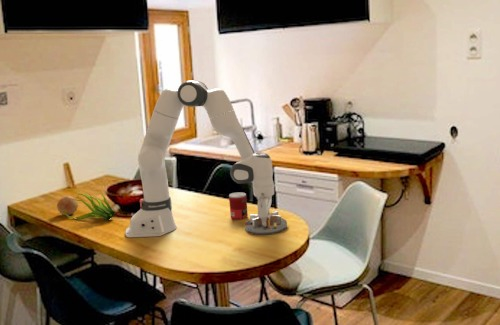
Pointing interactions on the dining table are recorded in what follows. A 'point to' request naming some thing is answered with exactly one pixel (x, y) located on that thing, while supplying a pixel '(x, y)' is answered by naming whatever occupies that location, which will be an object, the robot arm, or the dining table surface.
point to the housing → (266, 228)
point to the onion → (67, 205)
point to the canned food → (238, 205)
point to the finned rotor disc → (270, 219)
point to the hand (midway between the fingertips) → (265, 221)
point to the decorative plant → (96, 209)
